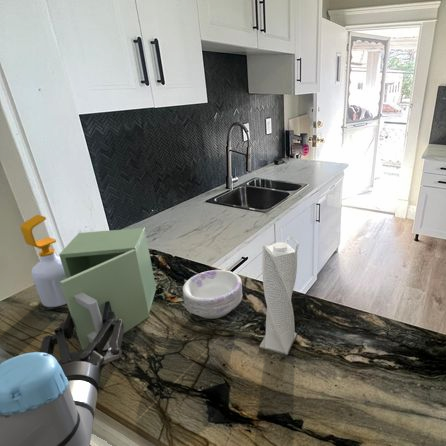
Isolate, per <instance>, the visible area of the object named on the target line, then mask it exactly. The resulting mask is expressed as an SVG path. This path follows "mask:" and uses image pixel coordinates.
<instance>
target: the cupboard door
mask: <svg viewBox="0 0 446 446" xmlns="http://www.w3.org/2000/svg"><path fill="white" fill-rule="evenodd" d="M60 284H61V287H62V290H63V293H64V296H65V299H66V302H67V304H66V305H67V309H68V312H69V311H70V314H71V317H72V320H73V323H74V326H75V327H74V330H75V332H76V335H77V338H78V341H79V344H80V347H81V351H82V350H84V349H86V348H87V346H88V345H89V343H92V342H93V340H94V339H95V337H96V336H97V334H98V333H99V331H100V330H101V328H102V326H103V321H102V318H103V313H104V307H105V302H107V301H109V302H110V306H111V309H112V312H113V311H114V313H115V317H116V319H115V321H116V320H117V319H122V322H123V326H124V333H123V335H124V334H125V333H127V332H129V331H130V330H132V329H133V328H134V327H136V326H137V325H139V324H140V323H142V322H143V321H146V320H147V319H148V318H150V312H149V311H148V307H147V302H146V297H145V292H144V288H143V283H142V278H141V273H140V269H139V264H138V259H137V254H136V250H134V249H133V250H130V251H128V252H126V253H124V254H121V255H119V256H117V257H115V258H112V259H110V260H108V261H106V262H103V263H101V264H99V265H96V266H94V267H92V268H90V269H87V270H85V271H83V272H81V273H78V274H76V275H74V276H71V277H69V278H67V279H65V280H62V281H60ZM111 337H112V335H111ZM111 337H110V338H109V340H108V342H107V343H106V345H105V347H104V348H103V350H102V351H107V350H108V348H110V341H111Z"/></svg>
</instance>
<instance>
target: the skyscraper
mask: <svg viewBox="0 0 446 446" xmlns="http://www.w3.org/2000/svg"><path fill="white" fill-rule="evenodd" d="M289 240H292V241H293V242H294V243H295V244H296V246H295V249H294V248H293V247H292V246H291V245H290V244H289V243H288V241H289ZM299 245H300V243H299V242H298V241H297V240H296V239H295V238H293V236H287V237H286V239H285V241H284V242H283V241H277V242H274V243H273V244H270V245H265V244H263V245H262V259H261V260H262V265H261V267H262V268H261V269H262V284H263V285H262V286H263V293H264V299H265V304H266V314H265V316H266V317H265V319H266V320H265V335H264V337H263V339H262V341H261V343H260V344H259V346H258V348H259V349H262V350H265V351H269V352H273V353H277V354H279V355H284V356H289V352H290V351H291V348H292V346H293V345H294V342H295V340H296V337H297V334H298V333H297V332H296V331H295V330H296V329H295V326H296V325H295V315H294V308H293V302H292V295H293V292H294V288H295V285H296V278H297V272H298V251H299V250H298V249H299Z"/></svg>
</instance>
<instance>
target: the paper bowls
mask: <svg viewBox="0 0 446 446" xmlns="http://www.w3.org/2000/svg"><path fill="white" fill-rule="evenodd" d="M182 295H183V296H182V297H183V303H184V307H185V309H186V311H188V312H189V313H191V314H192V315H196V316H199V317H201V318H204V319H210V320H211V319H212V320H213V319H219V318H222V317H224V316H226V315H228V314H230V312H231V311H232V310H234V309H235V308H237V307H238V306H239V305H240V303H241V302H242V301H243V283H242V279H241V277H240V276H239V274H237V273H235V272H233V271H230V270H226V269H212V270H207V271H206V270H205V271H203V272H200V273H197V274H194V275H193V276H191V277H190V278H189V279H188V280H186V282H185V283H184V284H183V286H182Z"/></svg>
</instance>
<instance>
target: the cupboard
mask: <svg viewBox="0 0 446 446" xmlns="http://www.w3.org/2000/svg"><path fill="white" fill-rule="evenodd" d="M133 249H134V250H136V254H137V259H138V264H139V269H140V273H141V278H142V283H143V288H144V292H145V297H146V302H147V307H148V311H149V313H150V312H151V310H152V309H151V308H152V305H153V301H154V297H155V294H156V292H157V291H156V290H157V286H156V280H155V276H154V270H153V264H152V260H151V255H150V250H149V244H148V238H147V233H146V228H145V227H139V228H138V227H137V228H136V227H135V228H125V229H123V228H122V229H114V230H113V229H112V230H111V229H110V230H100V231H99V230H98V231H86V232H78V233H77V234H76V235H75V236H74V237H73V238H72V240H70V242H69V243H68V244H67V245H66V246H65V247H64V249H62V251H61V252H59V254H58V257H60V259H61V262H62V266H63V269H64V272H65V275H66V278H69V277H71V276H74V275H76V274H78V273H81V272H83V271H85V270H87V269H90V268H92V267H94V266H96V265H99V264H101V263H103V262H106V261H108V260H110V259H112V258H115V257H117V256H119V255H121V254H124V253H126V252H128V251H130V250H133Z"/></svg>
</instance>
